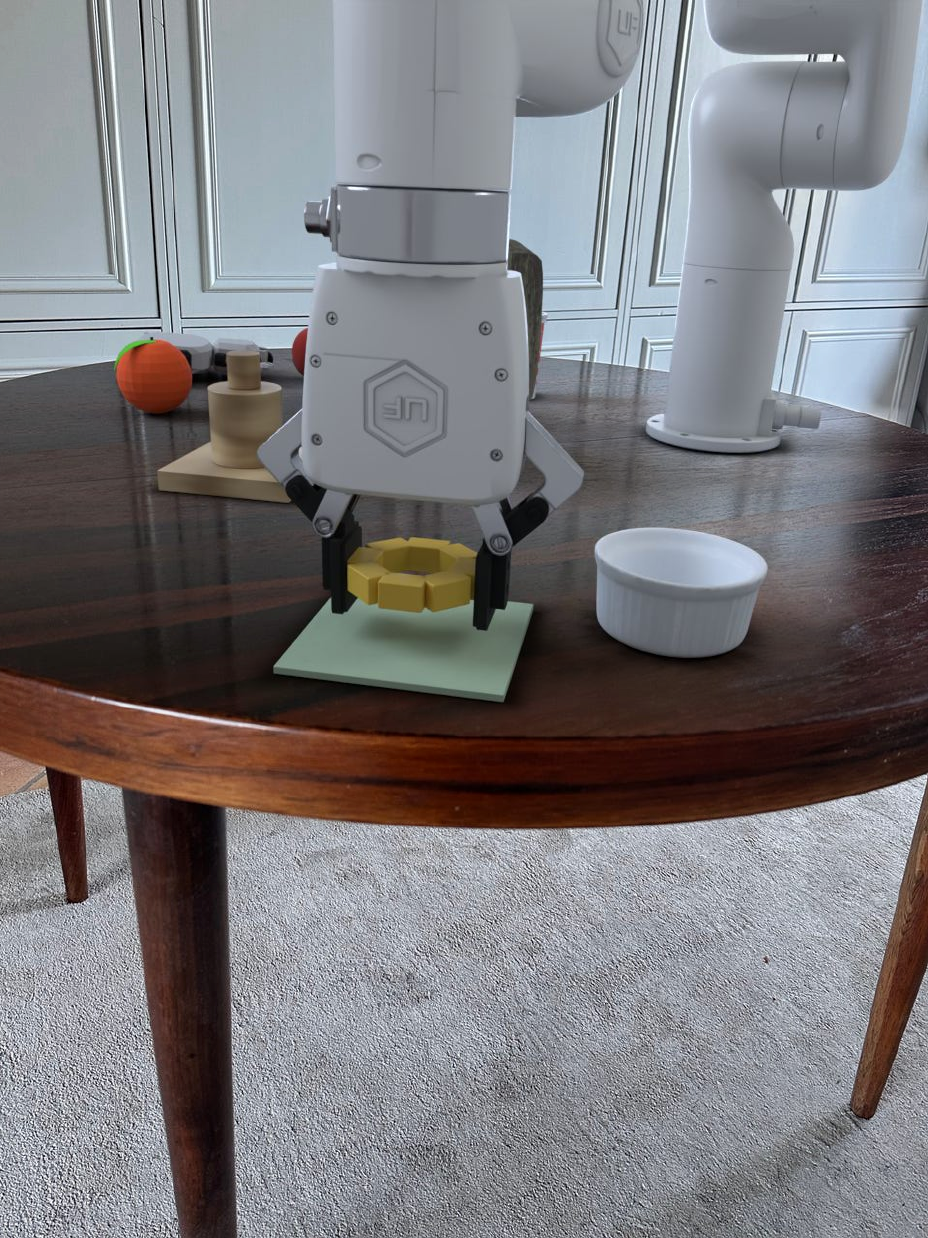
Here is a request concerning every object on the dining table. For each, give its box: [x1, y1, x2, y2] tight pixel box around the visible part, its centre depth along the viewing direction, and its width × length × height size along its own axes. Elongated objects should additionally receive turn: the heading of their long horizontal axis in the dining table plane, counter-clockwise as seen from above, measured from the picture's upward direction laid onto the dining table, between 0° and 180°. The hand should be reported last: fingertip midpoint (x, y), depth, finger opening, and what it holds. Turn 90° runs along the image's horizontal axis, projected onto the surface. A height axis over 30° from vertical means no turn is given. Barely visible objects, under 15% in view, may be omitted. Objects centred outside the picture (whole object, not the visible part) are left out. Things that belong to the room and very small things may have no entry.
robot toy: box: [136, 331, 275, 376], centre depth 112 cm, size 12×4×15 cm
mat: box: [273, 597, 534, 703], centre depth 51 cm, size 11×11×1 cm
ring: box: [347, 536, 478, 613], centre depth 49 cm, size 7×7×1 cm
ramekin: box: [594, 527, 769, 659], centre depth 52 cm, size 9×9×4 cm
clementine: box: [113, 337, 193, 415], centre depth 94 cm, size 8×7×7 cm
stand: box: [156, 350, 303, 504], centre depth 74 cm, size 10×10×10 cm
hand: (415, 609), depth 50 cm, fingers closed on ring, 6 cm apart
